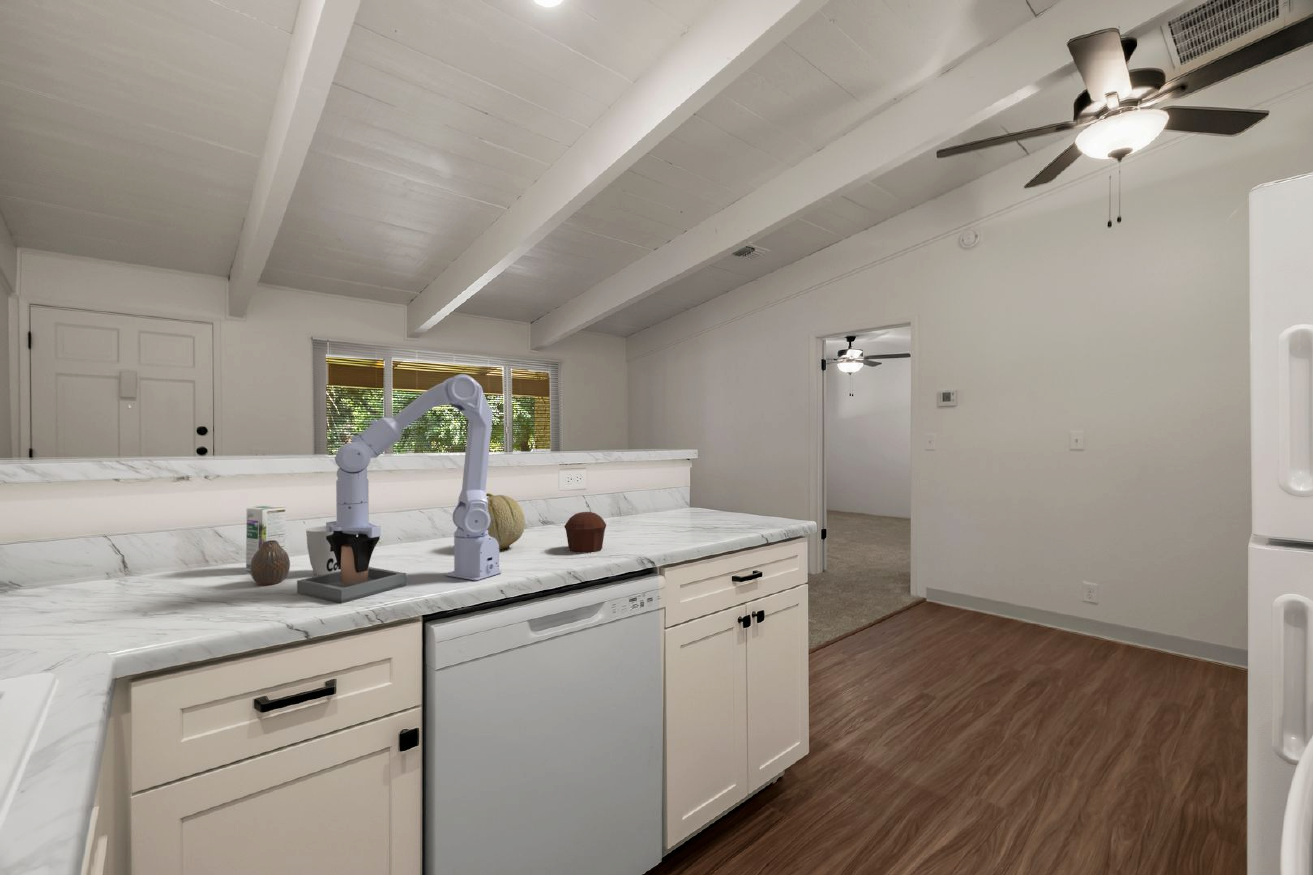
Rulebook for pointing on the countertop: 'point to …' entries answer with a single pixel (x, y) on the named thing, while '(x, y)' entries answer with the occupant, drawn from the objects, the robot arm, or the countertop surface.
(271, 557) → the vase
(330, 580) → the grey tray
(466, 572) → the robot arm
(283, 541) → the syrup box
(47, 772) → the countertop surface
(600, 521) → the muffin
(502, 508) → the cantaloupe
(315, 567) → the cup
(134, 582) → the countertop surface
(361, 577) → the terracotta cup
